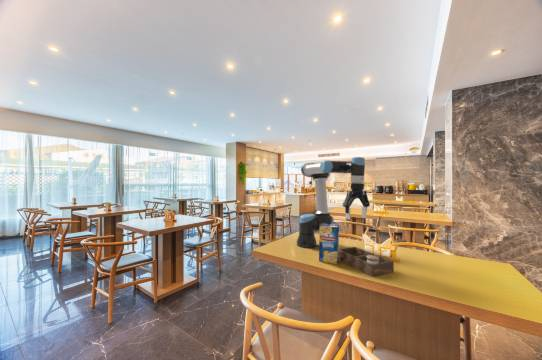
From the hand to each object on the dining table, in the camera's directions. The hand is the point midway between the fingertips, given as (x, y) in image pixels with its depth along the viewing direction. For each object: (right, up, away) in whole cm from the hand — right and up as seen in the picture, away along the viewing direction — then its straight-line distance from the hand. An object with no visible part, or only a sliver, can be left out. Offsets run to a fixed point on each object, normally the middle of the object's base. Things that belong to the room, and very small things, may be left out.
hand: (356, 218), depth 131 cm
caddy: (+3, -28, -2) cm, 28 cm away
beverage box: (-16, -27, +4) cm, 32 cm away
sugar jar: (+6, -28, -9) cm, 29 cm away
